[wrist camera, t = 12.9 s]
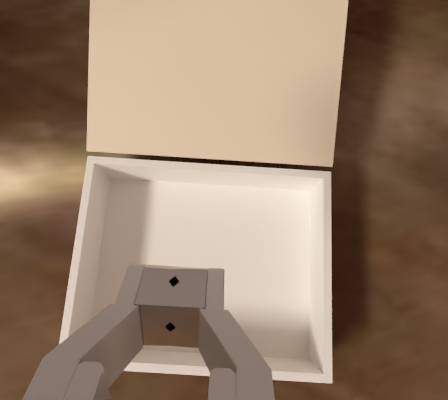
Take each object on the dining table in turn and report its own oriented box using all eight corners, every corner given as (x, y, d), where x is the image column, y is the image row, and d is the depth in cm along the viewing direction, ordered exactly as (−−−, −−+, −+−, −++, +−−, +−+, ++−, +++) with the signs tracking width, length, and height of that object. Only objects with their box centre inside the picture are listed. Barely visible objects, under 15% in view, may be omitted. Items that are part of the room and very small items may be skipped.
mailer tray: (313, 365, 30) (332, 383, 25) (82, 351, 30) (55, 366, 25) (314, 186, 33) (331, 171, 28) (106, 173, 33) (87, 156, 28)
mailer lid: (352, -43, 26) (350, -39, 27) (91, -61, 26) (93, -56, 27) (332, 166, 28) (330, 166, 29) (86, 150, 28) (88, 151, 28)
